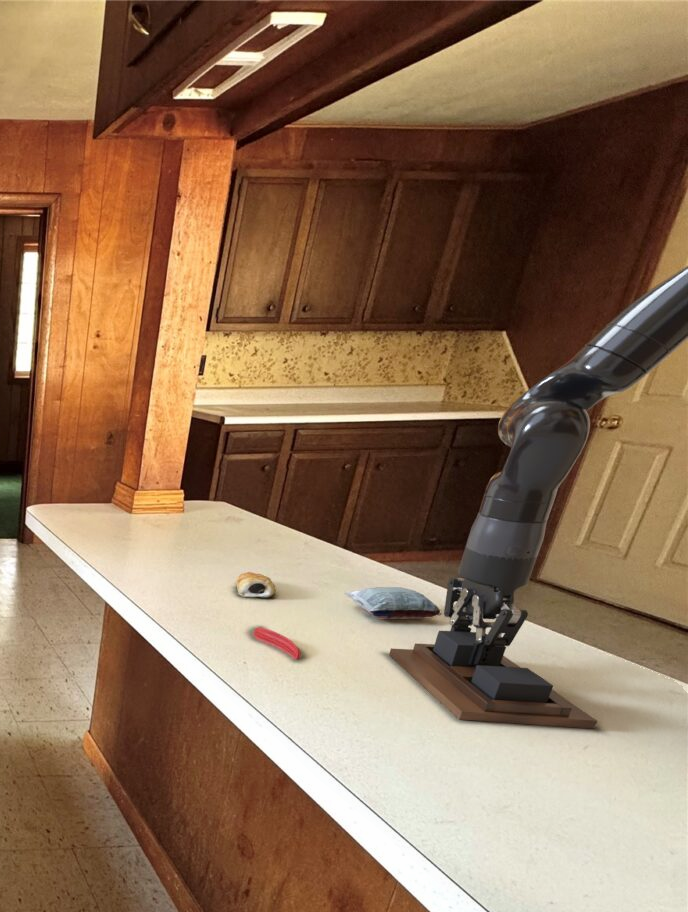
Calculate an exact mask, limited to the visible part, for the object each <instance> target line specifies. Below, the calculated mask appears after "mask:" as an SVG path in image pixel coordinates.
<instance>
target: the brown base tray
mask: <svg viewBox="0 0 688 912" xmlns="http://www.w3.org/2000/svg"><path fill="white" fill-rule="evenodd" d="M434 645H435V643H414V645H413V649H411V648H407V649H406V648H390V651H389V654H388V656H389V657H390V658H391V659H393V660H394V662H396V663H397V664H398V665H399V666H400V667H401V668H402V669H404V670H405V671H406V673H408V674H409V675H410V676H411V677H412V678H413V679H414V680H415V681H417V682H418V683H419V684H420V685H421V687H423V688H424V689H425V690H426V691H428V692H429V693H430V695H432V696H433V697H434V698H435V699H436V700H437V701H438V702H439V703H441V705H443V706H444V708H446V709H447V710H448V711H449V712H450V713H451V714H453V715H454V716H455V717H456V718H457V719H458V720H462V721H474V722H475V721H476V722H477V721H478V722H491V723H504V724H520V725H533V726H534V725H535V726H549V727H562V728H577V729H593V730H594V729H595V728H596V726H597V724H598V720H597V719H596V718H595V717H593V716H592V715H590V714H589V713H587V712H586V711H584V710H583V709H581V708H580V707H579V706H577V705H576V704H574V703H573V702H571V701H570V700H569V699H567V698H566V697H564V696H562V695H561V694H560V693H559V692H557V691H555V690H554V689H552V691H551V693H550V696H549V698H548V701H547V703H535V702H519V701H503V700H491V699H490V698H488V697H487V696H486V695H485V694H483V693H482V692H481V691H480V690H478V689H477V688H476V687H475V686H474V685H472V684H471V681H472V678H473V675H474V672H475V669H476V667H461V666H451V665H449V664H448V663H447V662H446V661H444V660H443V659H442V658H441V657H439V656H438V655H437V654H436V653H434V652H433V648H434ZM500 666H501V667H519V668H522V667H521V666H519V665H518V664H516V663H515V662H513V661H512V660H511V659H509V658H508V657H506V656H505V655H503V658H502V661H501V663H500Z"/></svg>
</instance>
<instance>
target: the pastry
mask: <svg viewBox="0 0 688 912" xmlns="http://www.w3.org/2000/svg"><path fill="white" fill-rule="evenodd" d="M235 586H236V587H237V589H236V591H237V594H238V595H239V596H241V597H243V598H271V597H272V596H273V595H274V594H275V592H276V585H275V584H274V582H273V581H272V580H271V577H269V576H266V575H264V574H261V573H255V572H251V571H248V572H243V573H241V574H239V576H238V577H237V579H236V581H235Z"/></svg>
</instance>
